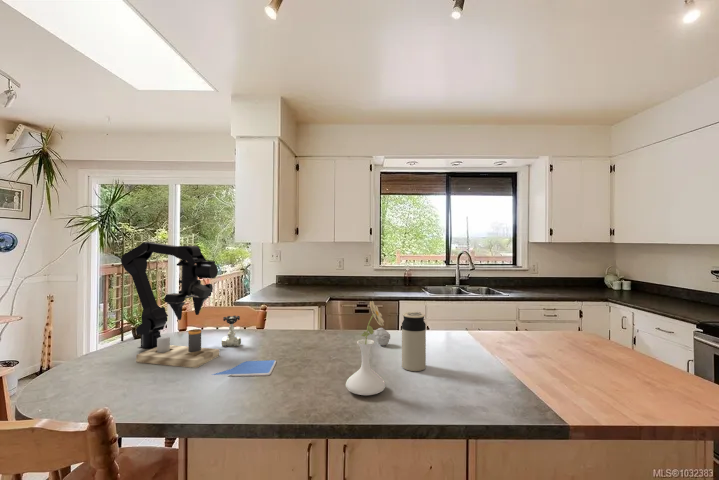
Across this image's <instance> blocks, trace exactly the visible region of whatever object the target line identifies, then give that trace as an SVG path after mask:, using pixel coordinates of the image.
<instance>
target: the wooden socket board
mask: <svg viewBox="0 0 719 480" xmlns="http://www.w3.org/2000/svg"><path fill="white" fill-rule="evenodd" d="M219 356H220V348H209V347H201V350H200V351H197V352H189V351H188V346H185V345H173V344H172V345H171V344H170V351H168V352H166V353H157V347H155V348H152V349H147V350H145V351H143V352H140V353H138V354H136V358H135V361H136V363H142V364H152V365H153V364H154V365H155V364H156V365H162V366H163V365H165V366H173V367H185V368H192V369H193V368H194V369H197V368H199V367H201V366H202V365H205V364H206V363H209V362H211V361H212V360H214V359H216V358H218V357H219Z"/></svg>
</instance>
